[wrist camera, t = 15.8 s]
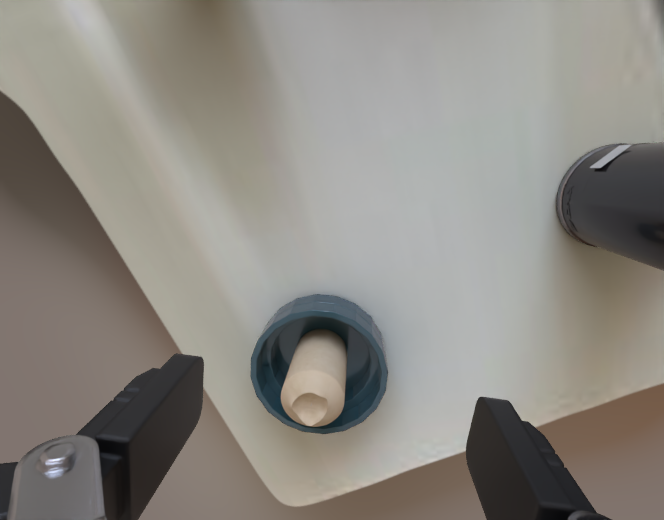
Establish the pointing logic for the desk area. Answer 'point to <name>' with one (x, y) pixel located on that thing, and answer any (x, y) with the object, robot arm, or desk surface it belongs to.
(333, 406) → the candle
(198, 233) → the desk surface
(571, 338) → the desk surface
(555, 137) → the desk surface
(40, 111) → the desk surface
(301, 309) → the bowl
